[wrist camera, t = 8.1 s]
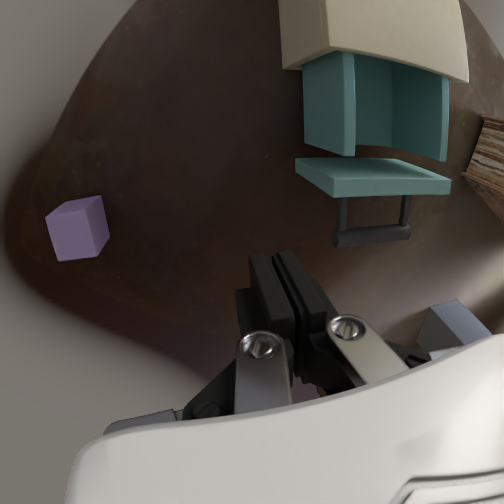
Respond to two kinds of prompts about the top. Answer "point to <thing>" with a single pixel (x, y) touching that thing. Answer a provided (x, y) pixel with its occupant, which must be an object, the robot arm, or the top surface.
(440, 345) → the perfume bottle
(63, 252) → the lavender cube
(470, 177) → the book
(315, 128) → the teal drawer
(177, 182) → the top surface
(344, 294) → the top surface
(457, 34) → the drawer cabinet
